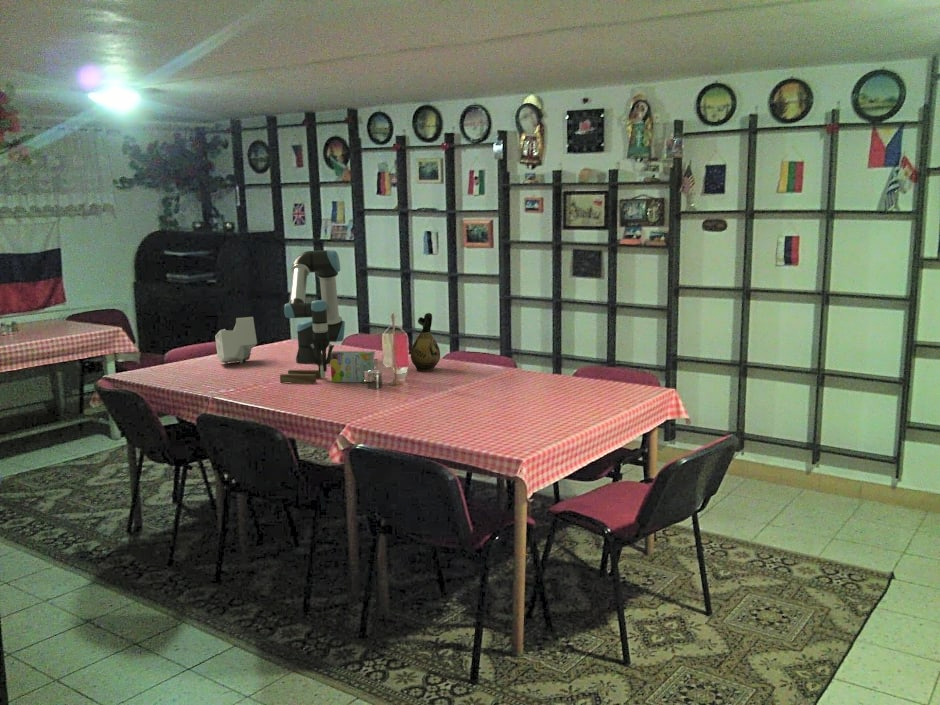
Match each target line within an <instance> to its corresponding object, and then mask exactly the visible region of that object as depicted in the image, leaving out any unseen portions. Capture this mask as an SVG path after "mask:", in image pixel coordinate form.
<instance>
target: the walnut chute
mask: <svg viewBox="0 0 940 705" xmlns="http://www.w3.org/2000/svg"><path fill="white" fill-rule="evenodd" d="M317 379H318V380H321V379H322V380H323V378H321V373H320V371H319V369H289V370H287V373H281V374H279V382H291V383H290V384H316V383H317ZM315 382H316V383H315Z"/></svg>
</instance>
